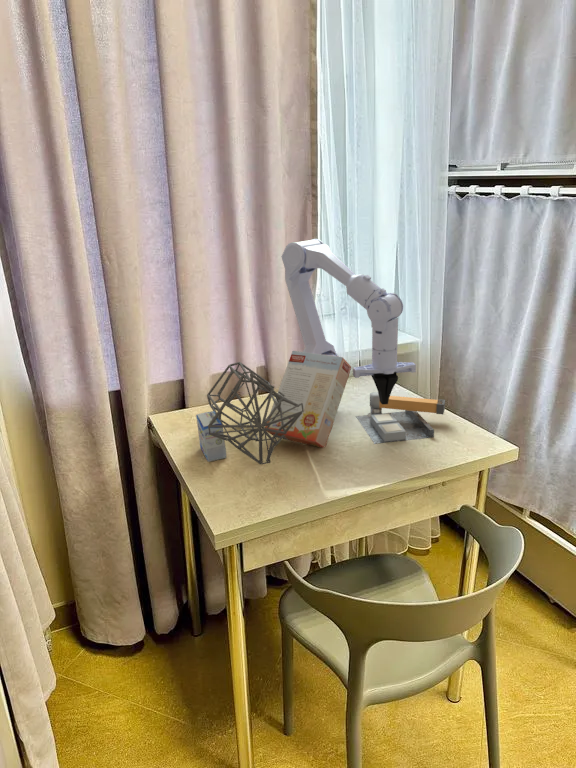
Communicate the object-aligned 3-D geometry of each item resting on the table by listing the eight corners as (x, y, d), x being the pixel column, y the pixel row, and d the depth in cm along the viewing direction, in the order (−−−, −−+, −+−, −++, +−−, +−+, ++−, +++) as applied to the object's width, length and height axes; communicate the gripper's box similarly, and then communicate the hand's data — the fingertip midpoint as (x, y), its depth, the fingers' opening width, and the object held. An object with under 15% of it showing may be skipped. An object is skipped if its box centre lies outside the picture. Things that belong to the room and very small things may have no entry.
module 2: (384, 441, 124) (384, 433, 123) (377, 432, 129) (377, 424, 128) (405, 439, 125) (405, 430, 124) (398, 430, 129) (398, 422, 129)
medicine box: (200, 448, 128) (195, 414, 125) (218, 443, 129) (214, 409, 126) (207, 462, 121) (202, 427, 118) (227, 458, 122) (222, 422, 119)
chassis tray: (374, 447, 124) (374, 433, 122) (354, 418, 140) (354, 405, 139) (433, 441, 125) (434, 427, 124) (407, 412, 141) (407, 400, 140)
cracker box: (325, 450, 124) (353, 366, 129) (314, 442, 119) (343, 355, 124) (275, 437, 131) (303, 359, 136) (262, 430, 127) (292, 348, 132)
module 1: (376, 430, 130) (376, 422, 129) (370, 422, 134) (370, 414, 134) (396, 428, 130) (397, 420, 130) (390, 420, 135) (390, 412, 134)
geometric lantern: (244, 430, 143) (270, 478, 110) (194, 398, 138) (205, 438, 105) (279, 380, 142) (315, 413, 109) (229, 346, 138) (251, 370, 104)
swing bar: (368, 407, 136) (368, 396, 135) (371, 402, 139) (371, 391, 138) (443, 414, 130) (443, 402, 129) (444, 409, 133) (445, 397, 132)
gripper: (358, 355, 121) (358, 412, 126) (421, 349, 123) (419, 405, 127) (350, 346, 128) (350, 401, 132) (410, 341, 129) (408, 395, 134)
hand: (383, 402), depth 130 cm, fingers closed
